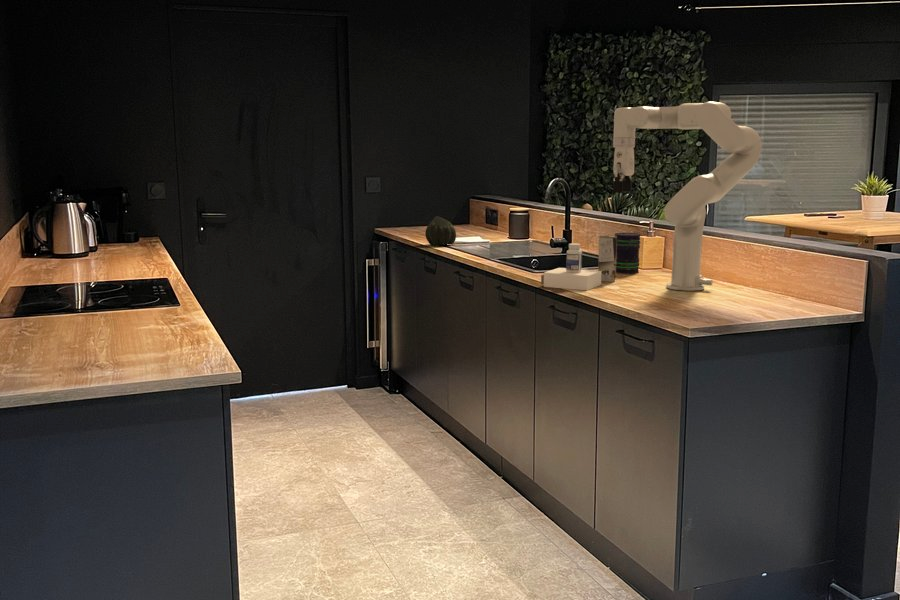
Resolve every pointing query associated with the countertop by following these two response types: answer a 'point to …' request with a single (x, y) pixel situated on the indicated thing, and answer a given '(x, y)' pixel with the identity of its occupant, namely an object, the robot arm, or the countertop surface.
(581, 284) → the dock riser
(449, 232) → the squash
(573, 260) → the pill bottle
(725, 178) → the robot arm
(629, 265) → the storage jar
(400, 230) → the countertop surface
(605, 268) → the coffee box
